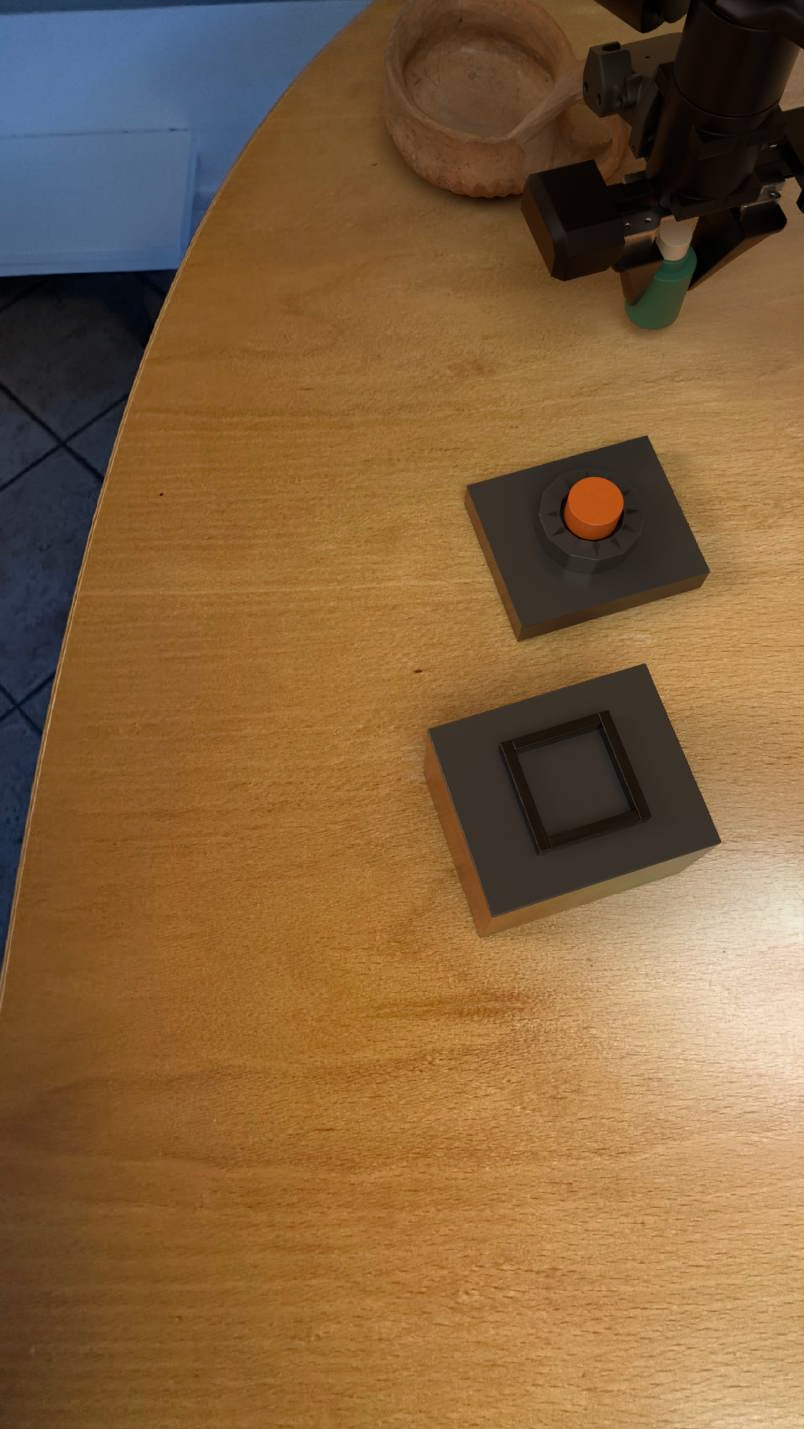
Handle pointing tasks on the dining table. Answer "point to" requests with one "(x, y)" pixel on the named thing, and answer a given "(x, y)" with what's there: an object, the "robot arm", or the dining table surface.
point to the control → (583, 540)
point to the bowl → (487, 96)
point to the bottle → (666, 279)
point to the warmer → (565, 799)
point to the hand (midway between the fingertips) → (657, 293)
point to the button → (593, 508)
